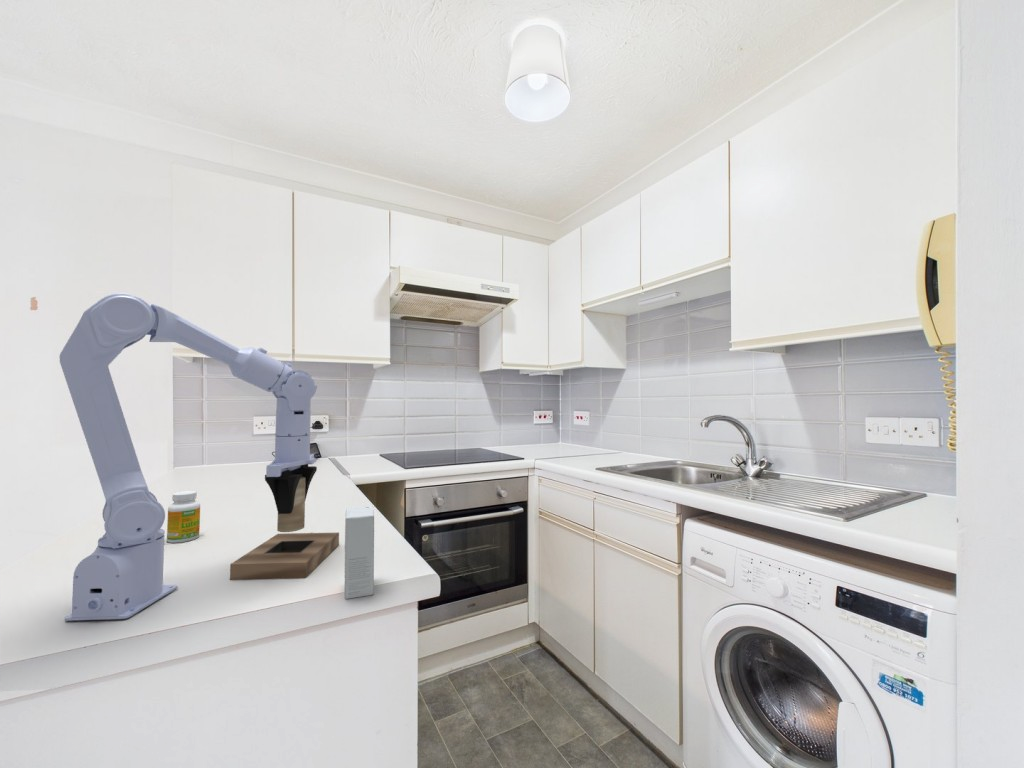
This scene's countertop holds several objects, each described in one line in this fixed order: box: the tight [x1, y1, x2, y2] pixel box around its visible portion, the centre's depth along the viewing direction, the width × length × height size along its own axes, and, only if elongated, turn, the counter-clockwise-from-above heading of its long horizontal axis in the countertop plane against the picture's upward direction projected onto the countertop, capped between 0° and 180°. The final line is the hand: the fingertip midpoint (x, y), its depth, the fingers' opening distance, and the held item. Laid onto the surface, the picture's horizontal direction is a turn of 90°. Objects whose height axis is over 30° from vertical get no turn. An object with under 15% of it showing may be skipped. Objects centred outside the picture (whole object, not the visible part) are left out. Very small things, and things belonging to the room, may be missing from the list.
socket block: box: [229, 532, 340, 581], centre depth 76 cm, size 16×12×2 cm
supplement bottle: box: [166, 490, 201, 544], centre depth 88 cm, size 5×5×10 cm
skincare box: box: [344, 505, 375, 600], centre depth 65 cm, size 6×4×12 cm
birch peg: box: [276, 477, 306, 533], centre depth 76 cm, size 4×4×9 cm
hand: (291, 509), depth 76 cm, fingers closed on birch peg, 4 cm apart
